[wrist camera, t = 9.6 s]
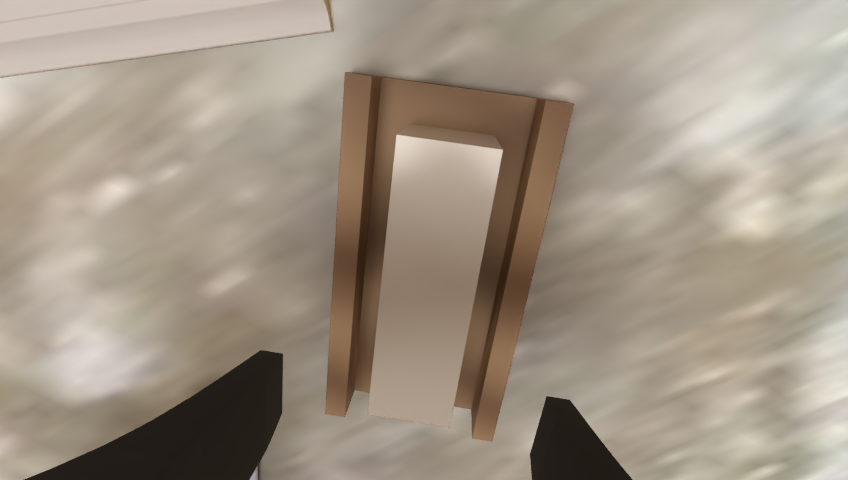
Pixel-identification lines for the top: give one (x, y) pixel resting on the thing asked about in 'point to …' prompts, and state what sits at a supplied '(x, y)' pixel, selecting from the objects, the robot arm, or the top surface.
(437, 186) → the beige rectangular block
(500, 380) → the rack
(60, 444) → the top surface
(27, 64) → the baseboard
